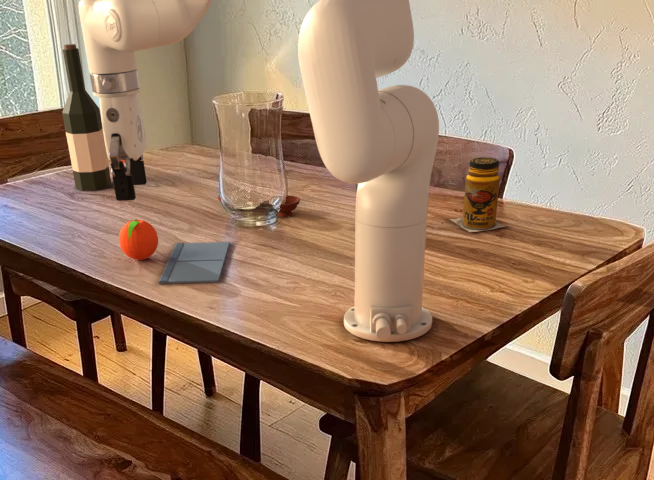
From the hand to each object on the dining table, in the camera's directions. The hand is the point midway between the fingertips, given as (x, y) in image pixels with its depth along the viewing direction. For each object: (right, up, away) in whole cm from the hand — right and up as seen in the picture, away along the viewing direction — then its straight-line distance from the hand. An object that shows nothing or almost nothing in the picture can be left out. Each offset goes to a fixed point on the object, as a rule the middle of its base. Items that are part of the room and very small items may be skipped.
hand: (132, 192), depth 134 cm
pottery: (+21, +5, +29) cm, 36 cm away
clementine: (0, -10, +7) cm, 12 cm away
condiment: (+63, -2, +15) cm, 64 cm away
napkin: (+11, -11, +4) cm, 16 cm away
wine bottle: (-18, +17, +51) cm, 57 cm away
